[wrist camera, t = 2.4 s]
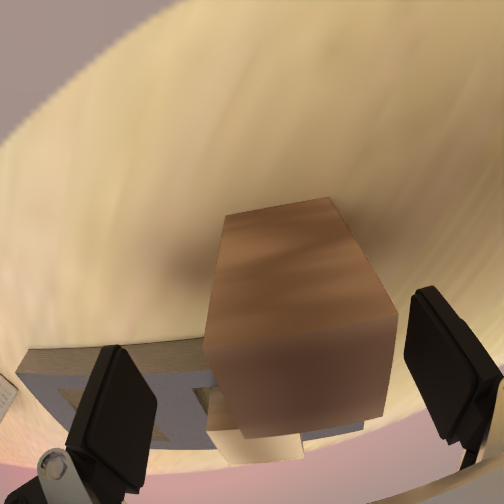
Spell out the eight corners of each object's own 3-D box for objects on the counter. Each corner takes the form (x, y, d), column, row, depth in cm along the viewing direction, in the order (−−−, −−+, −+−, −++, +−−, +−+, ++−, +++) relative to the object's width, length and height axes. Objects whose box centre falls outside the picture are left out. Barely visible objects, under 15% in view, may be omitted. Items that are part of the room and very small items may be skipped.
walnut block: (328, 197, 14) (398, 313, 7) (336, 282, 16) (382, 416, 9) (225, 215, 14) (202, 347, 7) (246, 298, 16) (244, 439, 9)
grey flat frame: (359, 312, 17) (372, 343, 15) (356, 402, 21) (363, 429, 19) (28, 349, 19) (14, 372, 17) (85, 419, 23) (78, 441, 21)
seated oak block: (289, 351, 18) (297, 422, 14) (297, 395, 21) (304, 458, 16) (213, 361, 19) (205, 431, 14) (231, 403, 21) (228, 465, 17)
